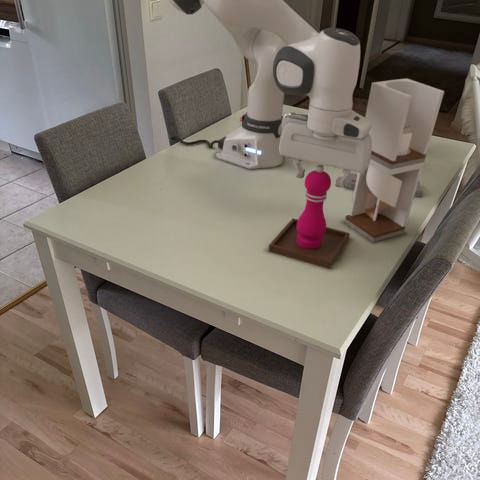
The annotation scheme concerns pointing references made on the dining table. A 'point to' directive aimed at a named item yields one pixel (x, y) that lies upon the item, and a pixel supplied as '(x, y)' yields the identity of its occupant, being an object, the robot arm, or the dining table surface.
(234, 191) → the dining table surface
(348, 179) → the remote control
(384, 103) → the two-tier shelf stand
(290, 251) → the serving tray
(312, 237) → the pepper mill
